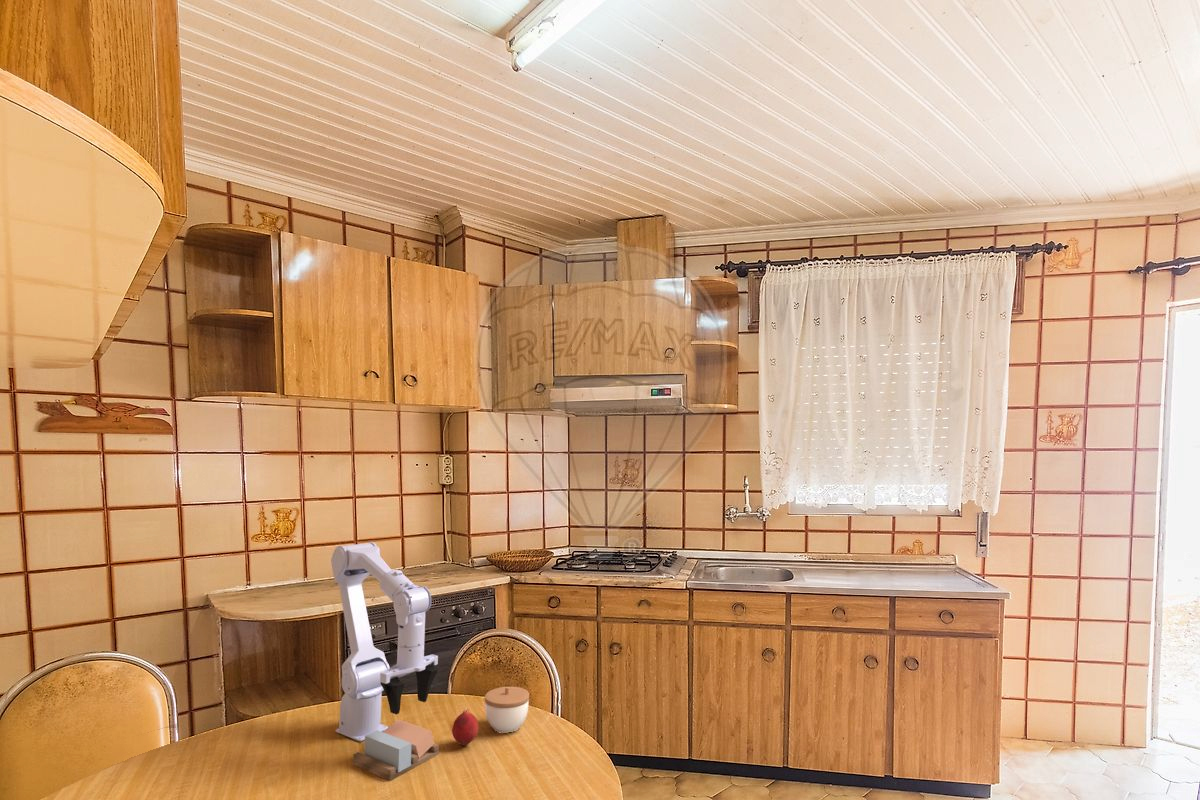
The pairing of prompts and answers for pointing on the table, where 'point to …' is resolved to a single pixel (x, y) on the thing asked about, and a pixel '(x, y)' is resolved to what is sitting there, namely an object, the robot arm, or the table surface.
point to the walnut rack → (390, 771)
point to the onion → (465, 728)
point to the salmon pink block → (412, 736)
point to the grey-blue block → (388, 750)
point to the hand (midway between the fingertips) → (408, 706)
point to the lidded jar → (506, 708)
